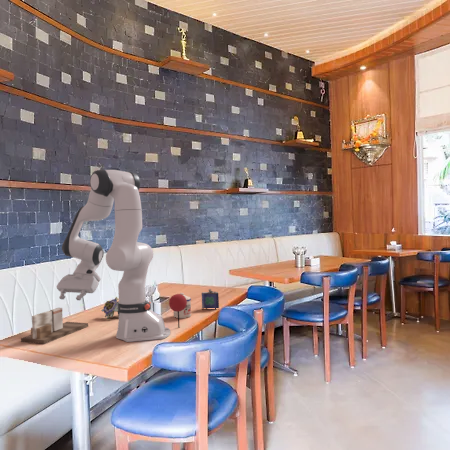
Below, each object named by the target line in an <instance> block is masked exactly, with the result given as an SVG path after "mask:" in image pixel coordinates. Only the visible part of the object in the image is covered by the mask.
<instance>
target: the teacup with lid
mask: <svg viewBox="0 0 450 450" xmlns="http://www.w3.org/2000/svg"><path fill="white" fill-rule="evenodd" d="M179 294H181V295H183V296H184V297H185V298H186V300H187V305H186V307H185V309H184V310H182V311H179V319H186V317H188V318H190V317H192V303H191V302H192V301H191V300H192V298H191V296H187V295H185V293H184V292H180V293H179ZM175 317H176V318H175ZM173 318H175V319H178V312H176V311H173Z"/></svg>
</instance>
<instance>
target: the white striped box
mask: <svg viewBox="0 0 450 450" xmlns="http://www.w3.org/2000/svg"><path fill="white" fill-rule="evenodd" d="M51 310H52V311H53V331H56V330H59V329H62V328H63V323H64V321H63V307H56V308H53V309H51Z"/></svg>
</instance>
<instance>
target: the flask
mask: <svg viewBox="0 0 450 450" xmlns="http://www.w3.org/2000/svg"><path fill="white" fill-rule="evenodd" d="M219 297H220V296H219V292H218V291H213V290H212V289H211V288H209V289H208V291H204V292H203V291H202V292H201V309H202V308H215V309H216V308H219V309H220V301H219V300H220V299H219Z"/></svg>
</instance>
